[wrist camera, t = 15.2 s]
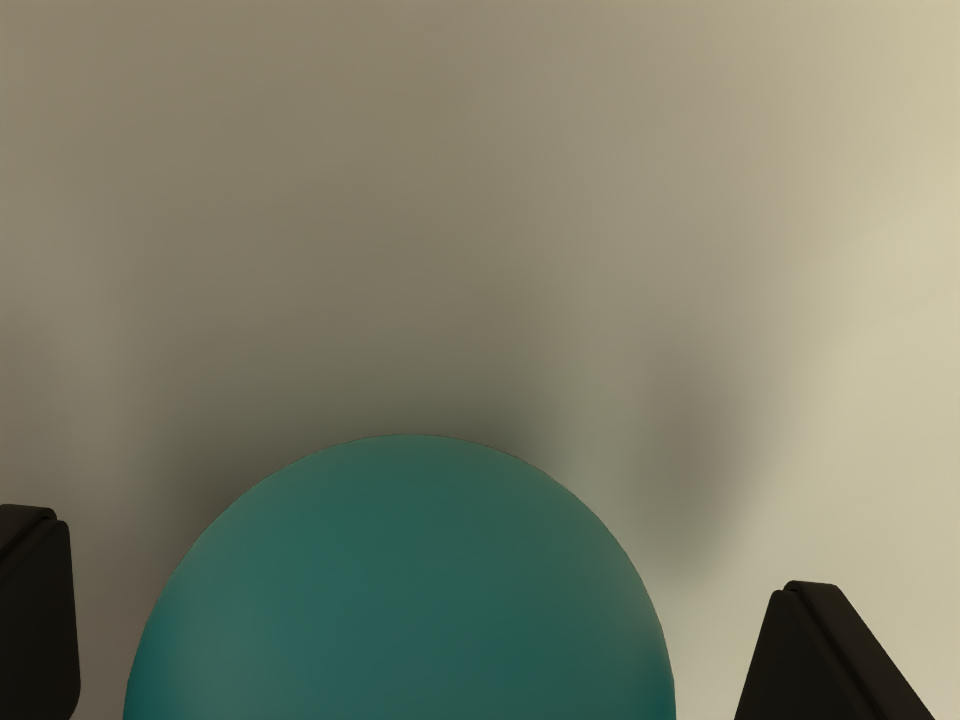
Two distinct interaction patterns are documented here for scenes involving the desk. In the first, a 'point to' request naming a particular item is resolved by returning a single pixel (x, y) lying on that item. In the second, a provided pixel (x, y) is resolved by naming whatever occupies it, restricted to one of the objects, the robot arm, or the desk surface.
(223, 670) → the ball
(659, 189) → the desk surface
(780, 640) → the robot arm
